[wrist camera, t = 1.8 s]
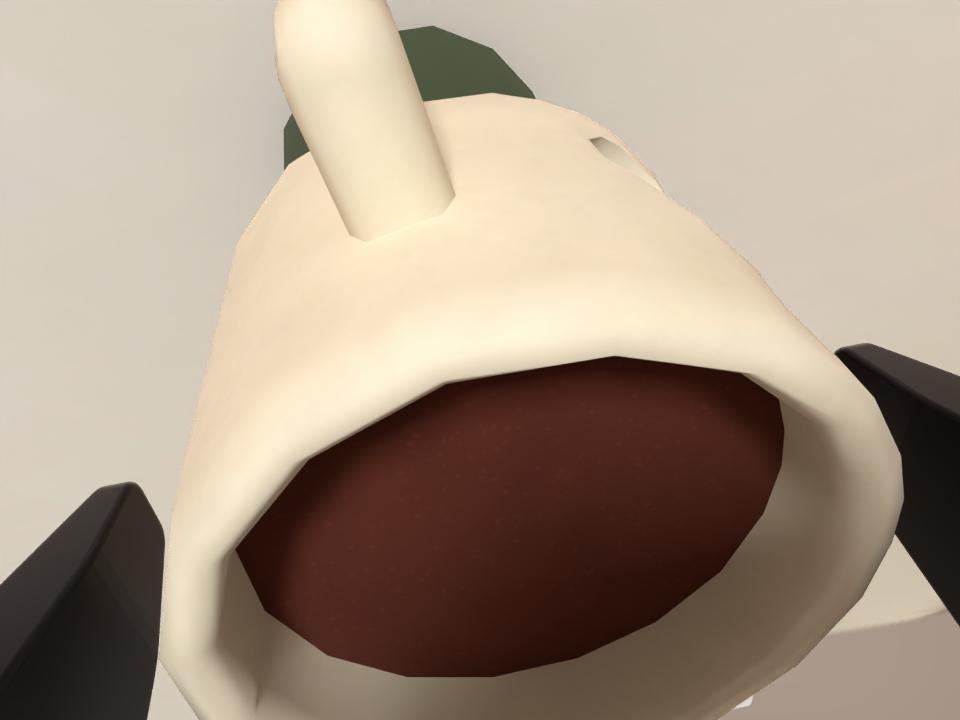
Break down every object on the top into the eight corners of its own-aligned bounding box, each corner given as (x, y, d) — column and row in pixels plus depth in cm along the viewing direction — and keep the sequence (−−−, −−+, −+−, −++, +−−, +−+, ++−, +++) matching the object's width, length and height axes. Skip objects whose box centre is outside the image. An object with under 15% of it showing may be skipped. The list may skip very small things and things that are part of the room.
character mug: (596, 290, 20) (882, 746, 10) (366, 373, 20) (404, 902, 10) (490, -157, 14) (1001, -226, 3) (155, -28, 14) (-356, 291, 4)
